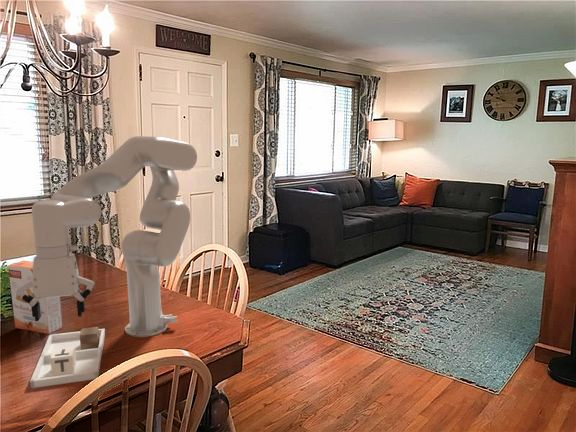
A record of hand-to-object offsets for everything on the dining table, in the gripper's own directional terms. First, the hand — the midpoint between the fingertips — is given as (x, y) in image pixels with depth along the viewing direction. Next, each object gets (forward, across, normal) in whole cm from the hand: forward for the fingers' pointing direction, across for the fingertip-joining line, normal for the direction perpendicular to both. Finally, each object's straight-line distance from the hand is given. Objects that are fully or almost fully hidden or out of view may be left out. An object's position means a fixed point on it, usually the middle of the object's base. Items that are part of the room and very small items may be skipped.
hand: (59, 316), depth 116 cm
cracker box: (+16, +12, -30) cm, 36 cm away
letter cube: (+15, 0, 0) cm, 15 cm away
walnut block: (+15, -5, -13) cm, 20 cm away
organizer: (+15, -1, -6) cm, 17 cm away
